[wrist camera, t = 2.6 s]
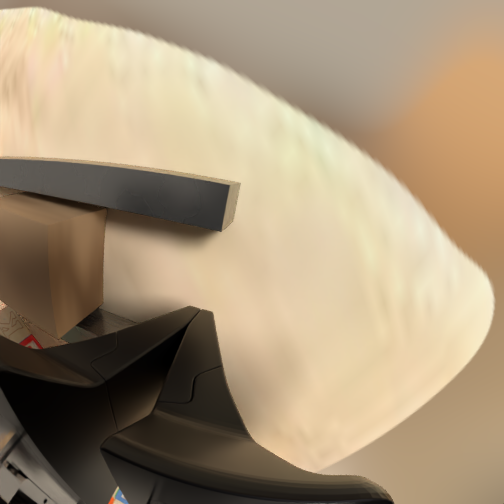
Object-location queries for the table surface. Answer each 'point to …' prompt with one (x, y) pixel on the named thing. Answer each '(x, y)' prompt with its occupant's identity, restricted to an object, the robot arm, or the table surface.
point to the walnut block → (51, 259)
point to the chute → (124, 203)
